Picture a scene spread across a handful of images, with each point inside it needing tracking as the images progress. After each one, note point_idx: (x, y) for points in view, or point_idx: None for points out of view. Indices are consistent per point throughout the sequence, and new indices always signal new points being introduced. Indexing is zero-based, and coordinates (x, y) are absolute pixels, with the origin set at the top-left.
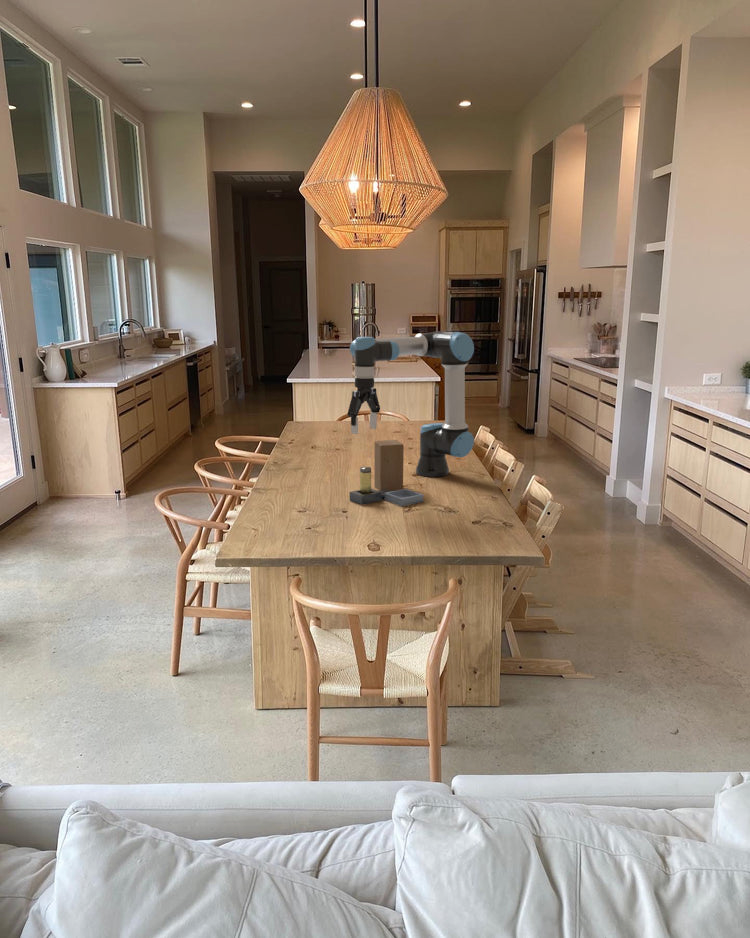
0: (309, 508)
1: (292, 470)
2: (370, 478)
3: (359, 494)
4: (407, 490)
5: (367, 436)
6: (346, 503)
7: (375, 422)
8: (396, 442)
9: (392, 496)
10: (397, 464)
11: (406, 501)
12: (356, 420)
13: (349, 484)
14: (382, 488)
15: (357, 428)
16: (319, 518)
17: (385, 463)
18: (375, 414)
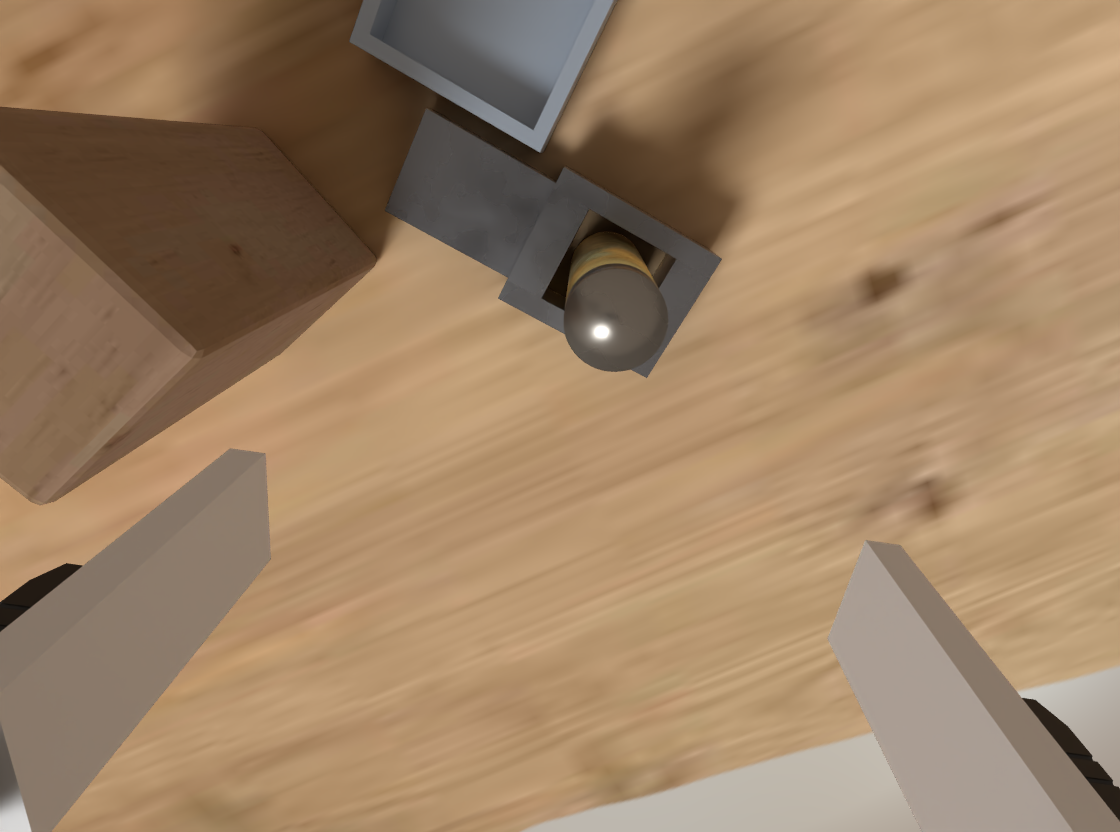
0: (866, 488)
1: (256, 819)
2: (614, 254)
3: (683, 290)
4: (379, 7)
5: None
6: (705, 350)
7: (188, 526)
8: None
9: (585, 58)
10: (178, 166)
11: None
12: (1072, 784)
13: (324, 500)
14: (364, 253)
15: (935, 611)
16: (1049, 359)
17: (264, 266)
18: (33, 670)
